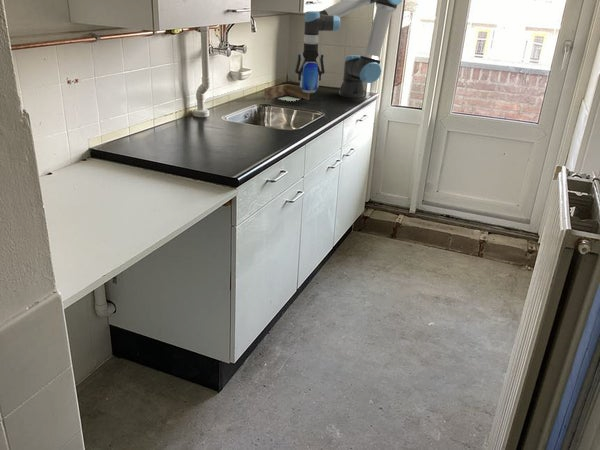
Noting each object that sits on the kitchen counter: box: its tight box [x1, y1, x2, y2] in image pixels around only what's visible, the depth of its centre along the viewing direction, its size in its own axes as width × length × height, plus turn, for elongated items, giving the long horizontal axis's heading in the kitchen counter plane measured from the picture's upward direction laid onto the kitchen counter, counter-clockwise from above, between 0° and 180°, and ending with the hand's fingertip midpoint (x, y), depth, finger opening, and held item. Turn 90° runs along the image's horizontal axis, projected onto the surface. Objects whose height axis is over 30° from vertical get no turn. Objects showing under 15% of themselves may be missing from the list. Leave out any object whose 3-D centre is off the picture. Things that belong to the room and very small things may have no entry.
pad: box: [277, 95, 301, 103], centre depth 298 cm, size 9×9×1 cm
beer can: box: [301, 61, 319, 94], centre depth 287 cm, size 8×8×16 cm
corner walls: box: [263, 83, 310, 101], centre depth 296 cm, size 20×16×6 cm
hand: (309, 86), depth 289 cm, fingers closed on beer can, 8 cm apart
